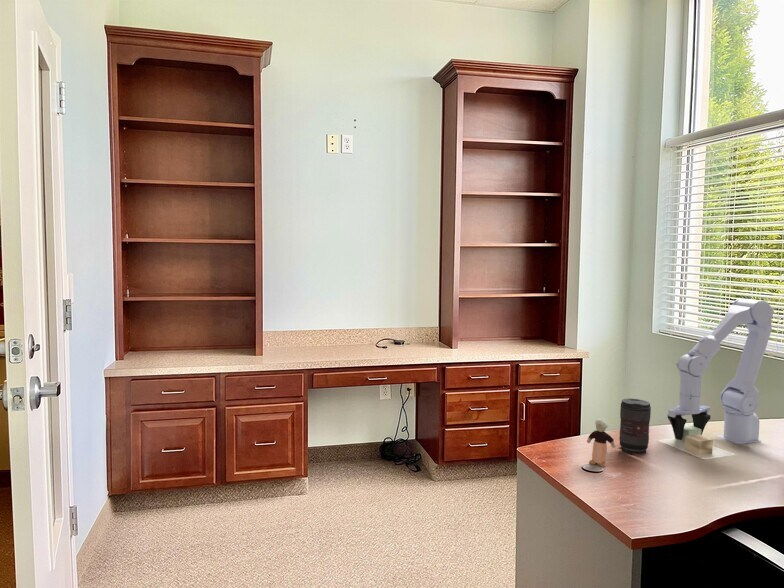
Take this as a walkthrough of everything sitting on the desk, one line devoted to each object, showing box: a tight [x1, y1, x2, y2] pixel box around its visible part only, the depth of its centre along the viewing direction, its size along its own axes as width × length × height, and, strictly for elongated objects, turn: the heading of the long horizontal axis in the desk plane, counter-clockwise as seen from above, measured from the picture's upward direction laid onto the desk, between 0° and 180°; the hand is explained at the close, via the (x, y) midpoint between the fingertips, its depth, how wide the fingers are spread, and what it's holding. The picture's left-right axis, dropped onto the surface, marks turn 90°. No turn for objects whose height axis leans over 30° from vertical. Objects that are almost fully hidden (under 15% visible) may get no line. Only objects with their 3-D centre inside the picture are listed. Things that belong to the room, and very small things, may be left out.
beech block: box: [685, 434, 714, 455], centre depth 166 cm, size 5×5×4 cm
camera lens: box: [619, 398, 652, 456], centre depth 167 cm, size 8×8×15 cm
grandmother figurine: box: [586, 418, 617, 467], centre depth 157 cm, size 8×4×13 cm, turn 62°
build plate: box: [657, 437, 736, 461], centre depth 170 cm, size 12×17×1 cm
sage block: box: [674, 424, 702, 442], centre depth 176 cm, size 5×5×4 cm
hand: (688, 437), depth 176 cm, fingers open, 7 cm apart
